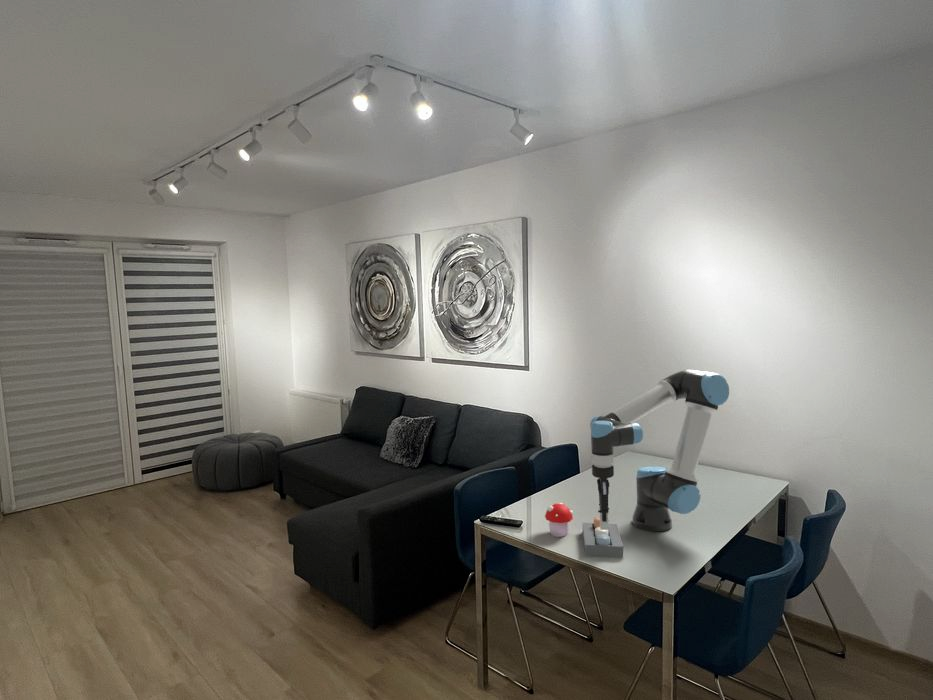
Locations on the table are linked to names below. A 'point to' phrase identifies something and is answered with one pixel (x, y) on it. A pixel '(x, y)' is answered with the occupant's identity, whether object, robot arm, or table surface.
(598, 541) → the button slate
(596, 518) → the button terracotta
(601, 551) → the grey button tray
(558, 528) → the mushroom
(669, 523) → the robot arm
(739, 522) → the table surface
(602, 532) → the button ivory
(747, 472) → the table surface
